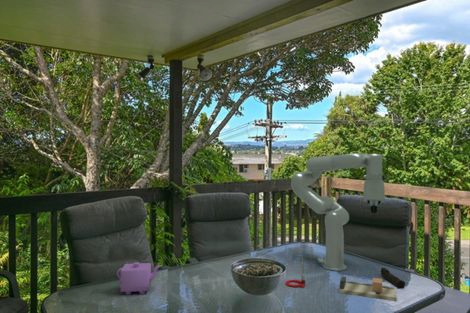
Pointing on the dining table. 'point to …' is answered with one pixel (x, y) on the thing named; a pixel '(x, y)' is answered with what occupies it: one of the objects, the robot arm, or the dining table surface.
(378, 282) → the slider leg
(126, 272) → the teapot
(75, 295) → the dining table surface
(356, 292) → the gauge board
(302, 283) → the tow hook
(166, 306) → the dining table surface
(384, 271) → the hand tool
